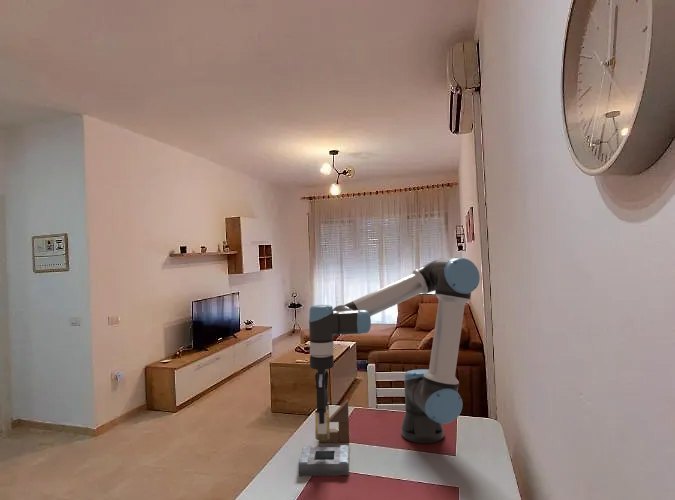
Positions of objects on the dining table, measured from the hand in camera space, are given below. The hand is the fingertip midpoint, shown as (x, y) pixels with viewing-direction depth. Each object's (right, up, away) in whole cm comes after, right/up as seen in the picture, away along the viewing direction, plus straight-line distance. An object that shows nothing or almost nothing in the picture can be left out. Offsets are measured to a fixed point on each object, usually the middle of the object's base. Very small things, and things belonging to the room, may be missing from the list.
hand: (322, 429), depth 127 cm
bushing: (0, -2, 0) cm, 2 cm away
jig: (+1, -11, 0) cm, 11 cm away
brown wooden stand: (+3, -12, +18) cm, 22 cm away
